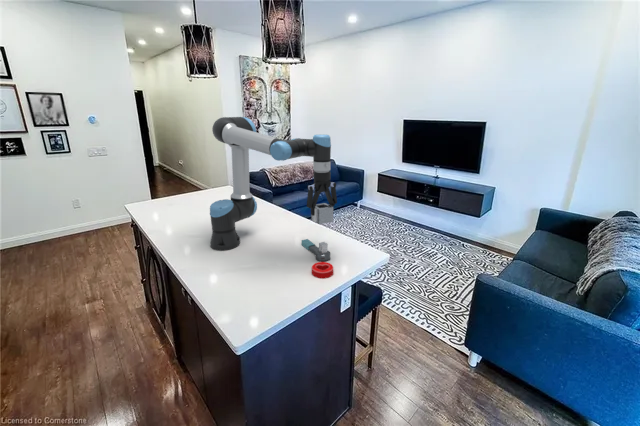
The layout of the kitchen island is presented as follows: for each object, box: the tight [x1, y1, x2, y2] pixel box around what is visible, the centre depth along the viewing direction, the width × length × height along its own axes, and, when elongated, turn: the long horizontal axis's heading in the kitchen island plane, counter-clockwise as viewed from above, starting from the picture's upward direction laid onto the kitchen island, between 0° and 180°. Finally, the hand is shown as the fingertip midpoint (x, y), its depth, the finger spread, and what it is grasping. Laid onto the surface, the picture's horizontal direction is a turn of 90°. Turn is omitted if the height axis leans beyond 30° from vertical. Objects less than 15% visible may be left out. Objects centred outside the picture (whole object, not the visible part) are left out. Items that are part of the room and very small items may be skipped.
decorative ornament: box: [311, 261, 334, 279], centre depth 129 cm, size 10×10×3 cm
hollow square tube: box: [310, 202, 334, 225], centre depth 135 cm, size 7×7×7 cm
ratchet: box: [300, 238, 331, 263], centre depth 147 cm, size 22×7×8 cm, turn 31°
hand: (322, 220), depth 136 cm, fingers closed on hollow square tube, 7 cm apart
